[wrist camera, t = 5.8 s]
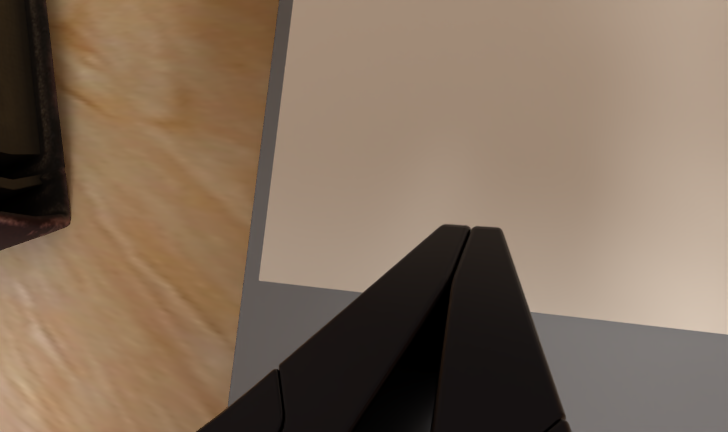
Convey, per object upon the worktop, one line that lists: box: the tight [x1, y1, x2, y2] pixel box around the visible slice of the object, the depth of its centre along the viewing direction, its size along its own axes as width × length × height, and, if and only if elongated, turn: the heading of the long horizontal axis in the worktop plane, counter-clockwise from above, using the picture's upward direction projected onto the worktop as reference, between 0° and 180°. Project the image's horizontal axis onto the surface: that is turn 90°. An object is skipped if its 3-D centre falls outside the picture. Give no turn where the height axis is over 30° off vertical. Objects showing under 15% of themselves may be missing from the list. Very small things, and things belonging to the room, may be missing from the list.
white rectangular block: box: [259, 0, 728, 335], centre depth 13 cm, size 4×10×12 cm
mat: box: [228, 0, 728, 432], centre depth 15 cm, size 20×16×1 cm
